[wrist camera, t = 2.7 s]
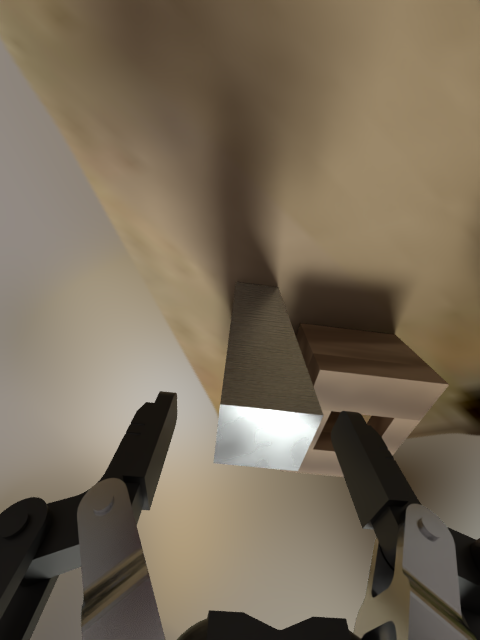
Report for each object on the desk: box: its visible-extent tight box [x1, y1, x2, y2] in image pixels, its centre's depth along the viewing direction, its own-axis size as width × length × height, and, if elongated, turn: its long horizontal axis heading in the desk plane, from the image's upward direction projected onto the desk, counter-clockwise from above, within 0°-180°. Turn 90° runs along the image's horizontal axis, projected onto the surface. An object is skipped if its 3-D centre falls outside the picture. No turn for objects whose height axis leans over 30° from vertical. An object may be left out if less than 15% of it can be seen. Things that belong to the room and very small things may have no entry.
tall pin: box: [214, 282, 324, 471], centre depth 16 cm, size 4×4×14 cm
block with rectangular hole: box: [280, 323, 449, 477], centre depth 23 cm, size 14×10×7 cm
